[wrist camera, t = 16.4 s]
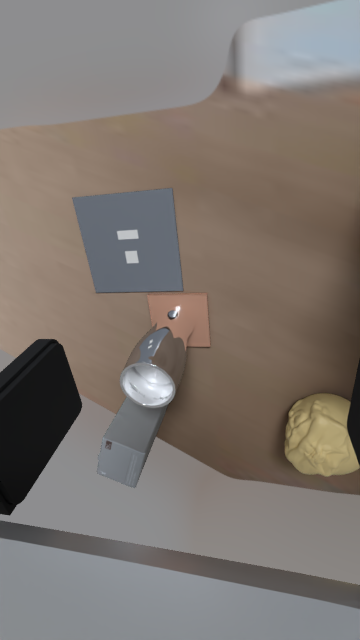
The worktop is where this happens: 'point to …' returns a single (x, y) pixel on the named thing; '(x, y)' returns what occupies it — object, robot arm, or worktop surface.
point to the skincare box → (129, 442)
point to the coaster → (194, 305)
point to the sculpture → (320, 436)
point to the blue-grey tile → (131, 240)
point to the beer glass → (158, 359)
